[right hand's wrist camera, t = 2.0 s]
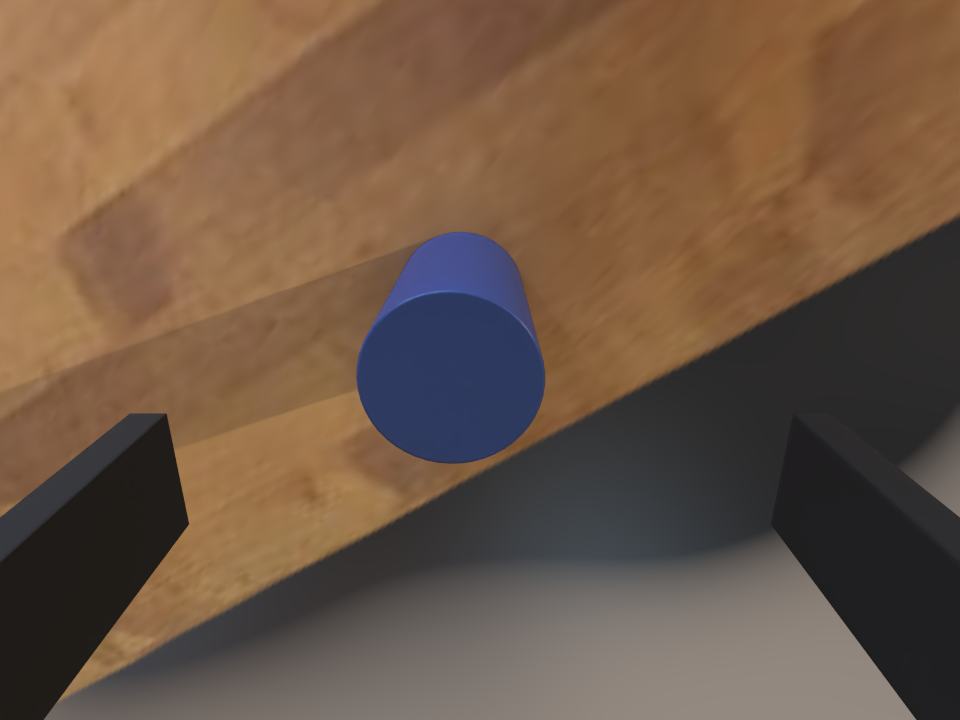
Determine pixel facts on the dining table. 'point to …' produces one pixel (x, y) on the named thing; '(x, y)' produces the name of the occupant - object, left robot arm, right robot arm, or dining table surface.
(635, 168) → the dining table surface
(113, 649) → the dining table surface
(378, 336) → the canister
